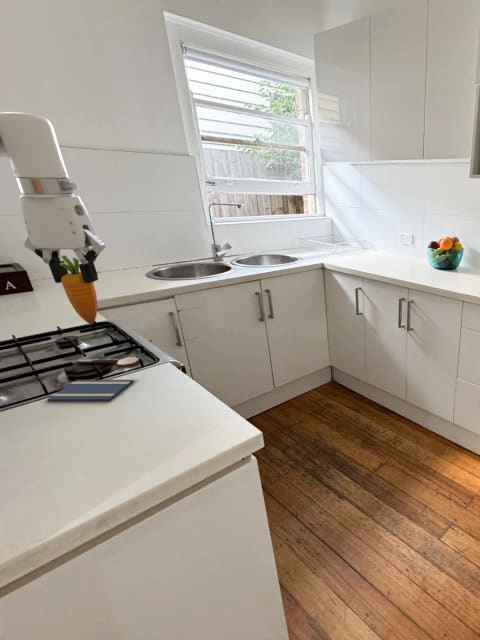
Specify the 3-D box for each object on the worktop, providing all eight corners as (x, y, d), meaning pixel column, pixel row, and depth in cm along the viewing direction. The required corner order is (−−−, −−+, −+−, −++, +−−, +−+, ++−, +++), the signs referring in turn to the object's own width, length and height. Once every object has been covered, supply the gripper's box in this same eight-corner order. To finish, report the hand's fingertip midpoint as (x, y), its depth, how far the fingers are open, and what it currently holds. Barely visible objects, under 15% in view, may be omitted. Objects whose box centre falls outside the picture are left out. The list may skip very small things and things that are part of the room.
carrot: (108, 324, 84) (86, 256, 78) (79, 330, 80) (54, 259, 74) (103, 318, 87) (82, 252, 81) (75, 323, 83) (51, 255, 77)
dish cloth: (47, 401, 77) (46, 398, 77) (77, 381, 84) (76, 379, 84) (109, 401, 78) (108, 398, 78) (133, 381, 85) (133, 379, 85)
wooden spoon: (72, 367, 90) (70, 363, 90) (85, 359, 94) (84, 355, 94) (132, 367, 91) (131, 363, 91) (143, 359, 95) (142, 355, 95)
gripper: (106, 188, 76) (130, 277, 84) (16, 186, 75) (49, 276, 83) (78, 190, 70) (107, 286, 77) (-21, 187, 68) (18, 285, 76)
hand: (77, 280), depth 80 cm, fingers closed on carrot, 5 cm apart
